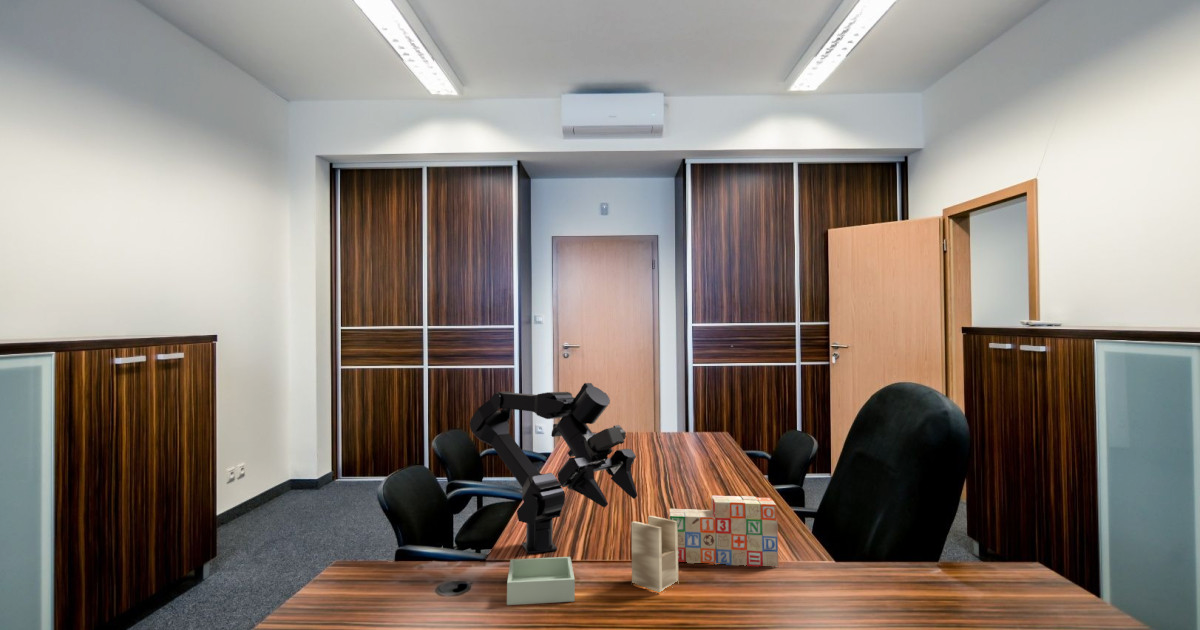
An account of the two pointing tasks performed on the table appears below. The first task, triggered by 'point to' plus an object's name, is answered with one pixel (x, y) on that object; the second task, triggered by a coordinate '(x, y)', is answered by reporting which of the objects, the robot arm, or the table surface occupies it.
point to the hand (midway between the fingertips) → (621, 501)
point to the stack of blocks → (729, 532)
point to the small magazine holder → (655, 553)
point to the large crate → (540, 581)
